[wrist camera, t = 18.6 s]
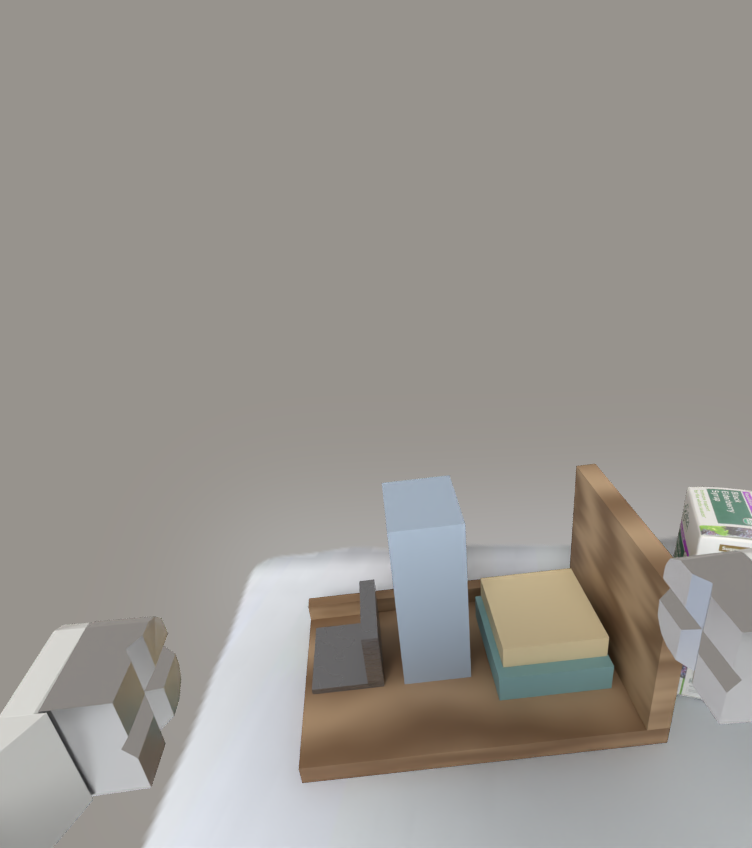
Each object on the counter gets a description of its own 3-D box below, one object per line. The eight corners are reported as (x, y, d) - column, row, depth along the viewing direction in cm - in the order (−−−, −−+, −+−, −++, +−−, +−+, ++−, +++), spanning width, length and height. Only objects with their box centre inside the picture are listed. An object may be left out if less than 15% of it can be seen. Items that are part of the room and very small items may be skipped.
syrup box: (656, 634, 44) (681, 482, 38) (741, 648, 42) (782, 490, 36) (665, 694, 39) (695, 532, 33) (761, 713, 37) (812, 544, 31)
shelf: (666, 742, 36) (697, 587, 30) (302, 782, 36) (263, 635, 30) (584, 593, 49) (595, 463, 43) (314, 623, 49) (288, 498, 43)
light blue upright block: (456, 616, 46) (449, 475, 40) (471, 677, 41) (465, 523, 35) (398, 623, 46) (381, 483, 40) (404, 684, 41) (387, 532, 35)
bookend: (384, 686, 41) (377, 637, 38) (312, 694, 41) (302, 646, 38) (380, 625, 46) (374, 579, 44) (317, 632, 46) (307, 587, 44)
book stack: (611, 688, 39) (616, 647, 37) (499, 700, 39) (499, 660, 37) (569, 604, 46) (572, 568, 44) (475, 615, 46) (474, 579, 44)
